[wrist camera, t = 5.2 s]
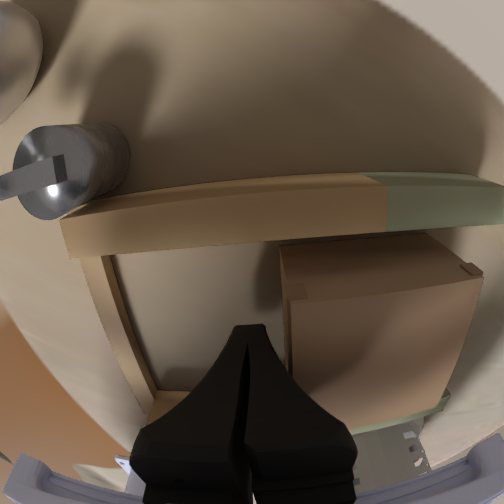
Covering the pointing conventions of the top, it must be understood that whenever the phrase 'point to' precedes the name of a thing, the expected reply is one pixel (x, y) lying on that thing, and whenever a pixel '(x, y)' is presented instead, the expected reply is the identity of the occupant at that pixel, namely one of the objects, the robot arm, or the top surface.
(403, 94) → the top surface
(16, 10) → the silver metal bottle
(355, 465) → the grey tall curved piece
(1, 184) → the crank handle cylinder
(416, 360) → the box
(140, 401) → the bay
